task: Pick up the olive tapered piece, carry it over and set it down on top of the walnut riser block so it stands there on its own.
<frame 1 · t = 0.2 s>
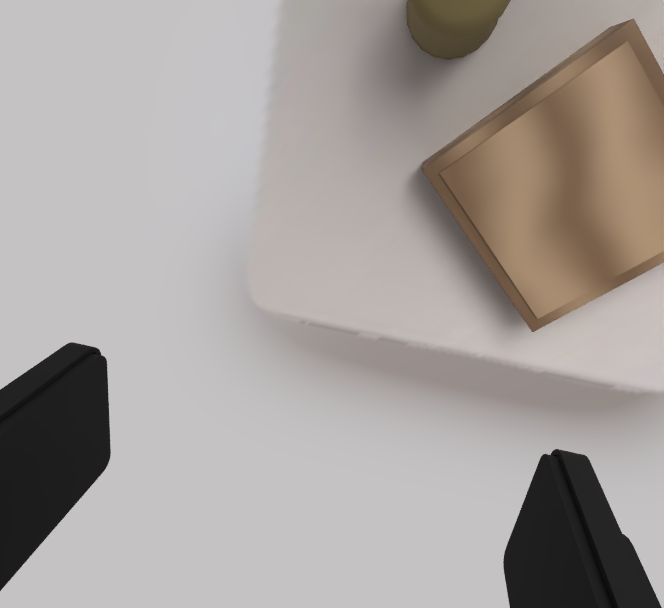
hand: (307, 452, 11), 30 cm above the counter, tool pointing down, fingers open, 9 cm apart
olive tapered piece: (452, 8, 33), on the counter
walnut riser: (561, 184, 36), on the counter
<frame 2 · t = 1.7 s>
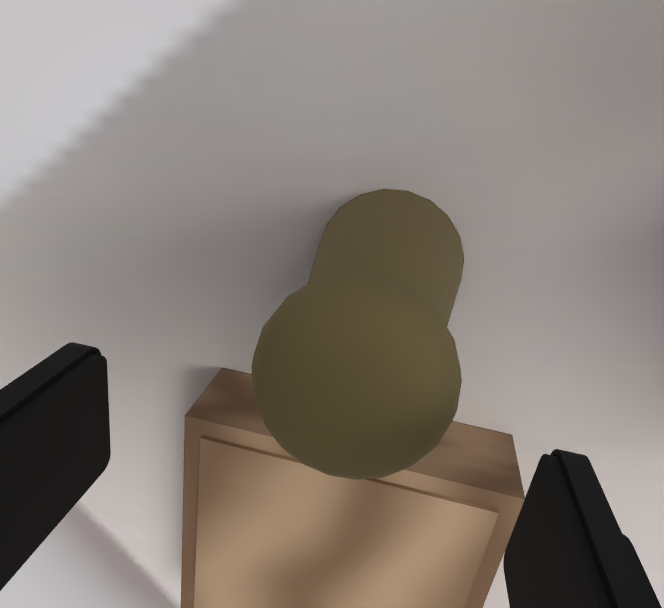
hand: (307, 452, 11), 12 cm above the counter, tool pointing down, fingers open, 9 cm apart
olive tapered piece: (389, 260, 21), on the counter
walnut riser: (340, 509, 27), on the counter
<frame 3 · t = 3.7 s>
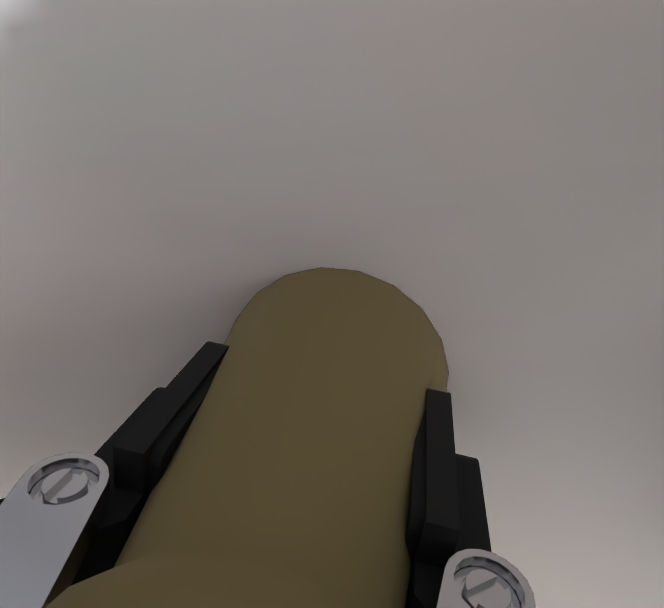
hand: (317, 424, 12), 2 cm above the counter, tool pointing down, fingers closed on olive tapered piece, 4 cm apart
olive tapered piece: (335, 370, 14), on the counter, touching gripper
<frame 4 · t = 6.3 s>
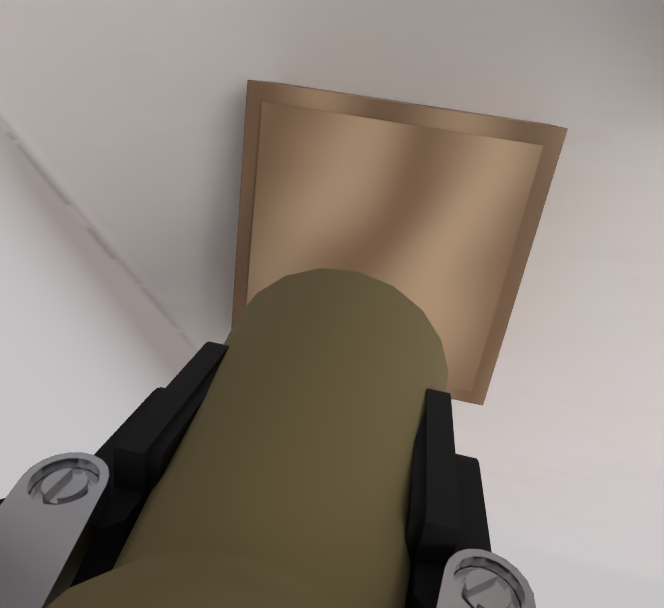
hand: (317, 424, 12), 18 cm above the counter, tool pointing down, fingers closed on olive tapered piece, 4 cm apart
olive tapered piece: (335, 370, 14), point 16 cm above the counter, touching gripper
walnut riser: (381, 235, 29), on the counter
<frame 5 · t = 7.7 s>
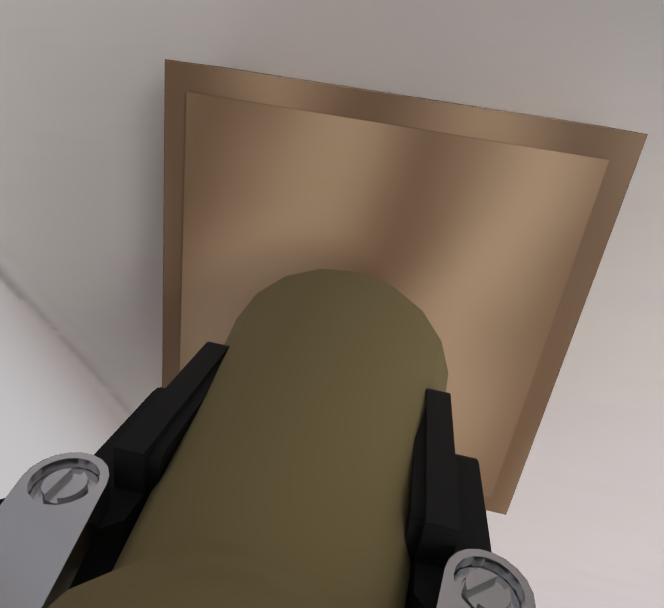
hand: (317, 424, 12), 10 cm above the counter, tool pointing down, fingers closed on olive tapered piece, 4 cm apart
olive tapered piece: (335, 371, 14), point 8 cm above the counter, touching gripper
walnut riser: (368, 275, 21), on the counter
when the fingers open (8 cm above the counter, at t = 9.0 s): olive tapered piece drops 1 cm, resting on walnut riser.
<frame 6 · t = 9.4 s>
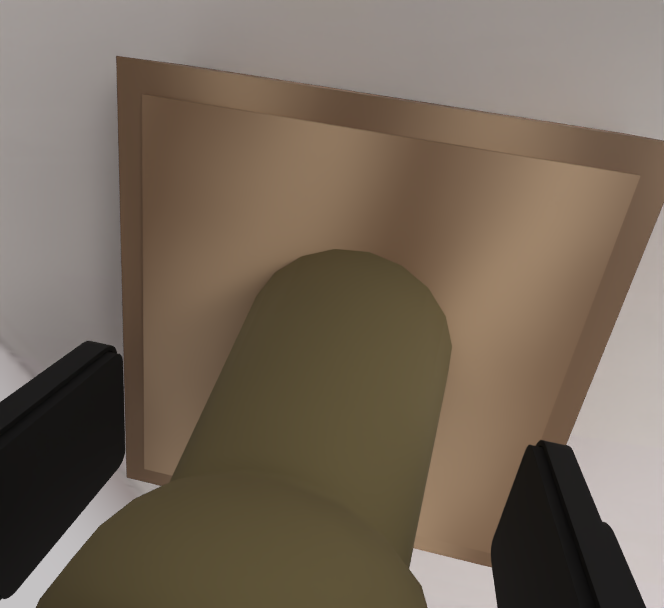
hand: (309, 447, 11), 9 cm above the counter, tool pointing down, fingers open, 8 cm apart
olive tapered piece: (346, 345, 15), point 4 cm above the counter, touching walnut riser
walnut riser: (358, 300, 19), on the counter
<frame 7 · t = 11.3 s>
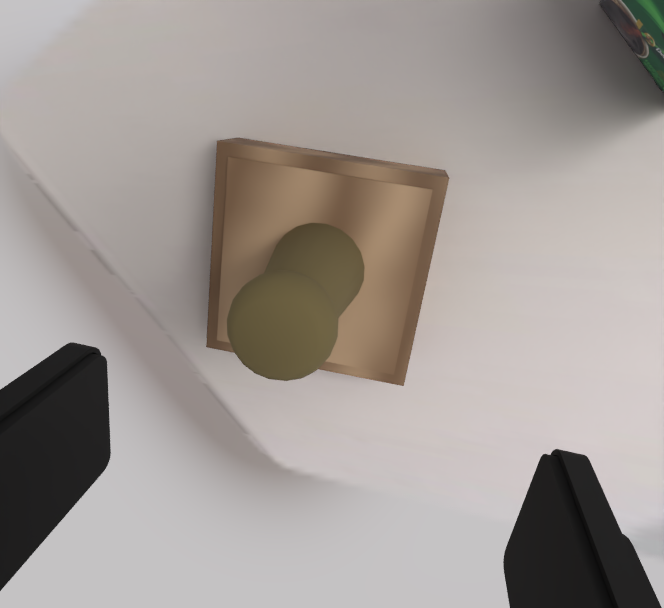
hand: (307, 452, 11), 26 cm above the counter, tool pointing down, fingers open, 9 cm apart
coffee box: (653, 38, 29), on the counter
olive tapered piece: (318, 268, 33), point 4 cm above the counter, touching walnut riser
walnut riser: (325, 254, 36), on the counter
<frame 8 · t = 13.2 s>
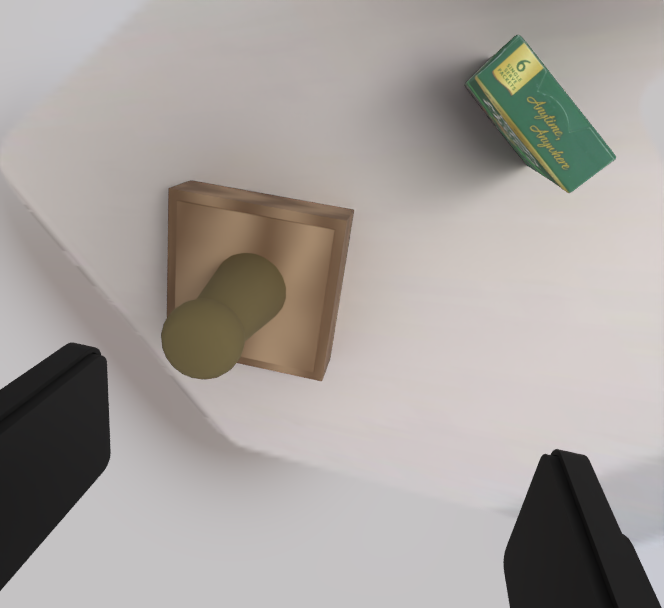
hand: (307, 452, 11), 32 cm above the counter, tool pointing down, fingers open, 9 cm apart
coffee box: (509, 111, 37), on the counter
olive tapered piece: (250, 288, 41), point 4 cm above the counter, touching walnut riser
walnut riser: (263, 273, 45), on the counter
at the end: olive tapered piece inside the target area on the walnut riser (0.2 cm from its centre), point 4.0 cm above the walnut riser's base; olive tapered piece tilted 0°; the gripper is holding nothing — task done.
